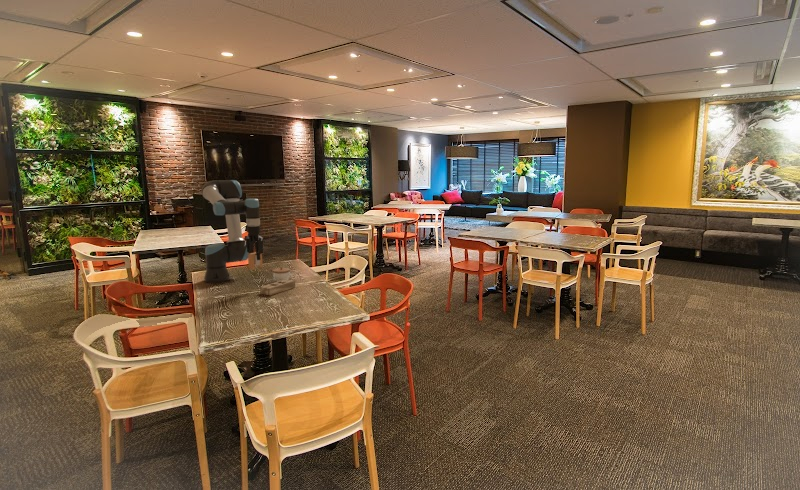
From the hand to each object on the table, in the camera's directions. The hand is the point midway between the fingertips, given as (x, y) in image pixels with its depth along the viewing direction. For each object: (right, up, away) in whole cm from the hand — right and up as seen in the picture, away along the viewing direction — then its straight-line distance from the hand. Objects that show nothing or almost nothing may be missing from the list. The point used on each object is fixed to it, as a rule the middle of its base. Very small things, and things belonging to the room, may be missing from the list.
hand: (255, 264), depth 250 cm
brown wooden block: (+13, -15, +1) cm, 20 cm away
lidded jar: (+10, -12, +21) cm, 26 cm away
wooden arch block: (0, -2, 0) cm, 2 cm away
